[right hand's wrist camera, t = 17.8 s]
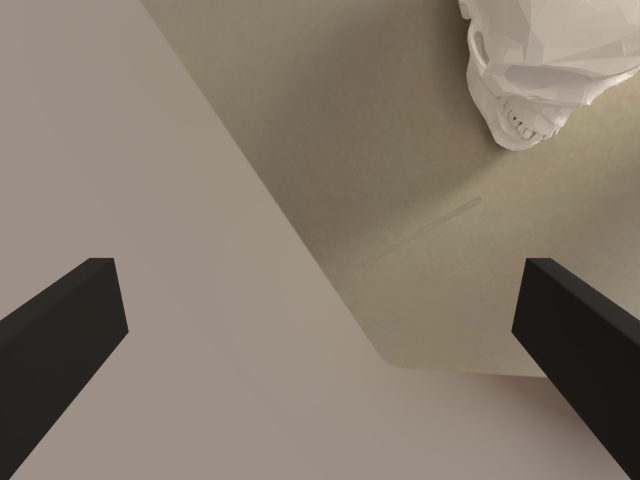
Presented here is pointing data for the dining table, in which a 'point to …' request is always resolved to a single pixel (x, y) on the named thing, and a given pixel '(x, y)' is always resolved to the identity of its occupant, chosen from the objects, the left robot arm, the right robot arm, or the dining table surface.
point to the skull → (546, 60)
